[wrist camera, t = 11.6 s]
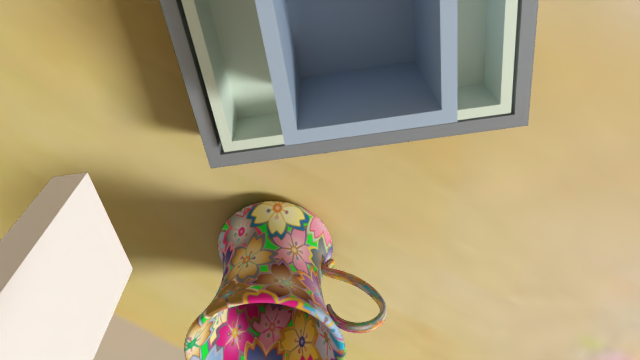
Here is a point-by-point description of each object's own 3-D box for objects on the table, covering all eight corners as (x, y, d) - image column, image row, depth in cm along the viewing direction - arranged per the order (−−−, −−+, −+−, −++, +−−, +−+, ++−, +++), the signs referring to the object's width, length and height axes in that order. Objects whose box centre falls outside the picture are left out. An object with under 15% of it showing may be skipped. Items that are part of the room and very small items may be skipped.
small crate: (259, -82, 25) (240, -67, 18) (419, -109, 24) (457, -103, 18) (290, 86, 30) (284, 145, 23) (425, 67, 29) (457, 122, 23)
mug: (229, 291, 40) (205, 411, 31) (201, 196, 35) (163, 307, 26) (376, 276, 40) (395, 395, 31) (368, 178, 35) (389, 285, 26)
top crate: (170, -115, 25) (149, -113, 21) (500, -172, 24) (529, -179, 20) (232, 124, 32) (224, 152, 28) (490, 88, 30) (510, 112, 27)
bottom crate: (143, -139, 25) (116, -141, 21) (521, -206, 24) (556, -219, 20) (221, 137, 33) (210, 168, 30) (504, 98, 32) (528, 125, 28)
